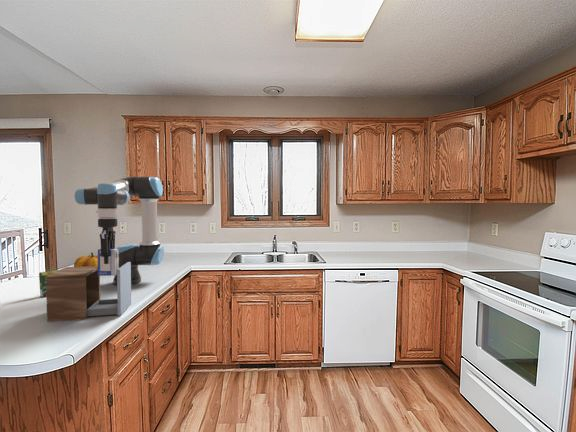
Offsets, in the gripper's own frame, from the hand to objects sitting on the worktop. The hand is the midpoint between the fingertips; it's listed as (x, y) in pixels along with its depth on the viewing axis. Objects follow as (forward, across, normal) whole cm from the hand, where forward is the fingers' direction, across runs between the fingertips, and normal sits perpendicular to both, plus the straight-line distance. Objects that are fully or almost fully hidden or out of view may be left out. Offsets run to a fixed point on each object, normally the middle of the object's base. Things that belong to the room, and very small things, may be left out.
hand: (108, 269), depth 136 cm
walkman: (+3, 0, 0) cm, 3 cm away
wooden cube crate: (+19, 0, -14) cm, 23 cm away
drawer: (+18, 0, 0) cm, 18 cm away
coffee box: (+19, -31, -38) cm, 52 cm away
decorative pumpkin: (+19, -77, -34) cm, 86 cm away
